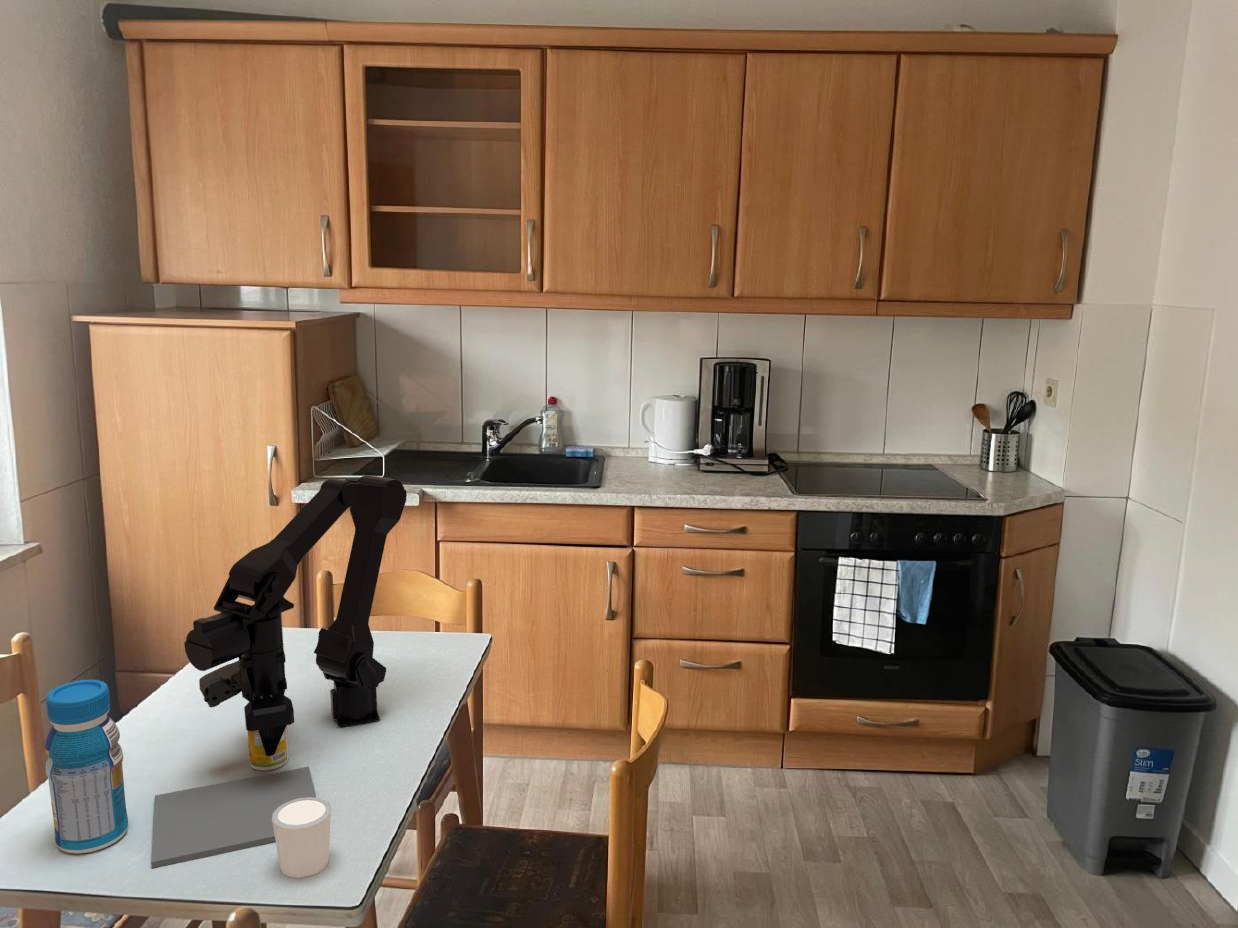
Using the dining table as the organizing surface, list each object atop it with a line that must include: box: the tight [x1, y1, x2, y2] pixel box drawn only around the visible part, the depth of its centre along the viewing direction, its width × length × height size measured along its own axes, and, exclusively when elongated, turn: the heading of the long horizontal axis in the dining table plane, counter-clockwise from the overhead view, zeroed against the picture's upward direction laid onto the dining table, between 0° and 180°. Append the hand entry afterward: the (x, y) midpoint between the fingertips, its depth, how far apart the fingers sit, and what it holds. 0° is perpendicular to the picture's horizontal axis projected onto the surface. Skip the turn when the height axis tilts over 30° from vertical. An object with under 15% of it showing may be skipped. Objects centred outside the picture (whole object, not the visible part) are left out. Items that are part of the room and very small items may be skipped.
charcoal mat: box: [150, 766, 318, 869], centre depth 126 cm, size 20×16×1 cm
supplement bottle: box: [247, 695, 290, 772], centre depth 139 cm, size 5×5×10 cm
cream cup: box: [272, 797, 332, 879], centre depth 116 cm, size 7×7×7 cm
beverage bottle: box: [44, 679, 129, 854], centre depth 119 cm, size 8×8×20 cm
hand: (268, 746), depth 140 cm, fingers closed on supplement bottle, 5 cm apart
